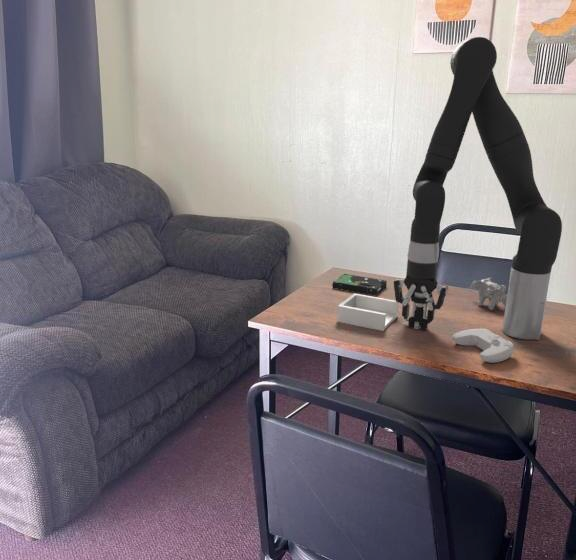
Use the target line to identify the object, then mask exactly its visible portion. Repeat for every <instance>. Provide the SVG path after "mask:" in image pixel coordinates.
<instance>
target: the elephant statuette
mask: <svg viewBox="0 0 576 560" xmlns="http://www.w3.org/2000/svg"><path fill="white" fill-rule="evenodd" d="M472 289H473V290H475V291H476V290H477V291H478V301H477V306H479V307H482V306H483V305H484V303H485V302H486V300H487V299H488V302H489V305H488V310H489V311H493V310H494V308H495V306H496V305H498V304H499V303H502V304H503V306H504V307H506V300H507V294H506V290H507V286H506V285H504V284H501V285H500V284H498V283H496V282H493V281H492V277H488V278H483V279H481V280H480V279H479V280H473V281H472V283H471V285H470V286H469V290H472Z"/></svg>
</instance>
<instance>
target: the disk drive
mask: <svg viewBox="0 0 576 560" xmlns="http://www.w3.org/2000/svg"><path fill="white" fill-rule="evenodd" d="M387 282H388V281H387V280H384V279H378V278H373V277H366V276H361V275H354V274H349V273H348V274H347V273H344V274H342V275H340V276H338V278H337V279H335V280H333V281H332V285H331V286H332V287H333V288H332V289H335V288H338V289H337V290H340V289H343V290H342V291H346V290H349V291H348V292H352V291H354V292H353V293H357V292H360V293H359V294H363V293H365V294H364V295H368V294H370V295H369V296H374V295H376V296H377V295H379V294H381V293H382V292H383V291H384V290H385V289H386V288H387V285H388V284H387ZM383 289H384V290H383ZM378 293H379V294H378Z"/></svg>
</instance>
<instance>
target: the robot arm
mask: <svg viewBox="0 0 576 560" xmlns="http://www.w3.org/2000/svg"><path fill="white" fill-rule="evenodd" d="M497 58H498V53H497V49H496V47H495V45H494V43H493V42H492V41H491V40H490V39H488V38H486V37H482V36H476V37H475V36H474V37H472V38H468V39H467V40H465V41H463V42H461V43H460V44H459V45H457V47H456V48H454V50H453V52H452V54H451V57H450V62H449V65H450V69H451V72H452V75H453V81H452V84H451V85H452V86H451V89H450V93H449V95H448V99H447V101H446V104H445V106H444V108H443V111H442V113H441V115H440V118H439V119H438V121H437V124H436V126H435V128H434V131H433V133H432V137H431V139H430V142H429V145H428V148H427V151H426V154H425V159H424V162H423V163H422V166H421V168H420V170H419V172H418V174H417V176H416V179H415V180H414V181H415V182H414V185H413V188H412V197H413V200H414V201H415V209H414V218H413V219H412V222H411V229H410V237H409V238H410V240H409V244H408V250H407V251H408V252H407V261H406V263H407V264H406V275H405V278H404V279H403V278H398V277H397V278H396V279H395V280H394V281H393V289H394V297H395V301H396V302H399V303H400V304H401V305H402V310H401V316H402V318H403V320H404V319H407V320H409V318H410V306H411V305H410V301H411V295H413V296H414V295H415V292H418V293H423V295H424V298H427V300H426V302H427V312H426V316H427V323H428V325H429V324H430V323H432V322H433V320H434V319H435V311H436V310H440V309H441V308H442V307H443V305H444V302H445V298H446V296H447V293H448V291H449V286H448V285H446V284H445V285H440V284H438V281H437V273H438V266H439V265H438V262H439V253H440V246H439V244H440V243H439V242H440V232H441V221H442V217H443V213H444V208H445V204H446V190H445V188H444V183H445V181H446V179H447V175H448V173H449V172H450V171H452V168H453V167H454V166H455V162H456V159H457V158H458V154H459V151H460V149H461V145H462V142H463V139H464V136H465V133H466V130H467V129H468V128H467V127H468V125H469V121H470V118H471V115H472V116H473V119H474V122H475V126H476V129H477V132H478V134H479V138H480V140H481V143H482V146H483V149H484V152H485V154H486V156H487V158H488V161H489V163H490V165H491V167H492V169H493V171H494V173H495V176H496V178H497V179H498V182H499V184H500V185H501V187H502V190H503V192H504V194H505V196H506V200H507V203H508V207H509V210H510V214H511V216H512V220H513V225H514V227H515V228H514V229H515V230H516V232H517V234H519V241H518V246H517V247H518V248H517V252H516V254H515V255H514V256H513V257H512V260H511V265H510V266H511V267H510V274H509V280H508V281H509V282H508V285H507V286H508V289H507V294H506V295H507V300H506V306H504V308H505V309H504V314H503V315H504V316H503V321H502V329H501V330H502V332H503V333H504V334H505V335H506V336H508V337H512V338H516V339H520V340H537V341H540V338H541V334H542V331H543V329H542V328H543V323H544V319H545V318H544V317H545V313H546V312H545V311H546V306H547V301H548V299H547V297H548V292H549V285H550V279H551V275H552V274H551V272H552V267H553V265H554V264H555V262H556V260H557V256H558V251H559V246H560V242H561V238H562V231H563V222H562V219H561V216H560V215H559V214H558V212H556V211H555V210H554V209H552V208H550V207H549V206H547V203H546V202H545V200H544V198H543V197H542V195H541V193H540V190H539V189H538V186H537V184H536V181H535V177H534V169H533V160H532V158H533V157H532V154H531V149H530V146H529V142H528V140H527V138H526V135H525V133H524V129H523V127H522V125H521V123H520V121H519V120H518V117H517V116H516V115H515V113H514V111H513V110H512V108H511V107H510V105H509V104H508V103H507V102H506V100H505V99H504V96H503V95H502V94H501V91H500V89H499V87H498V84H497V81H496V77H495V74H494V68H495V66H496V64H497V60H498V59H497ZM404 285H405V287H406V288H407V290H408V291H407V293H406V294H405V296H403V289H402V288H403V286H404ZM434 290H437V293H438V295H439V296H438V299H437V301H436V302H435V300H434V295H433V292H434ZM429 295H431V296H432V297H431V298H430V297H429Z"/></svg>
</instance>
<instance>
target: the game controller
mask: <svg viewBox="0 0 576 560" xmlns="http://www.w3.org/2000/svg"><path fill="white" fill-rule="evenodd" d="M452 341H453V343H455V344H457V345H460V346H472V347H473V346H475V347H477V348H479V349H481V350H483V351H481V352H480V353H479V359H481V360H483V361H484V362H486V363H488V364H489V363H491V364H493V363H494V364H495V363H500V362H503V361H505V360H507V359H509V358H511V356H512V355H513V354H514V352H515V348H514V344H513V342H511V341H510V340H507V339H504V338H503V337H501V336H500V335H499V334H496V333H494V332H492V331H491V330H490V329H489V328H488V329H487V328H471V329H466V330H461V331H457V332H455V333H454V334H453V335H452Z"/></svg>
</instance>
